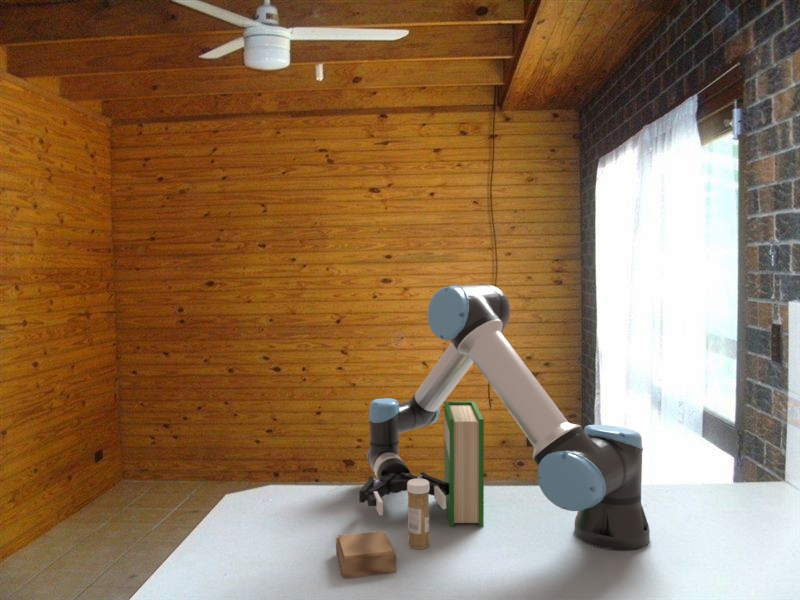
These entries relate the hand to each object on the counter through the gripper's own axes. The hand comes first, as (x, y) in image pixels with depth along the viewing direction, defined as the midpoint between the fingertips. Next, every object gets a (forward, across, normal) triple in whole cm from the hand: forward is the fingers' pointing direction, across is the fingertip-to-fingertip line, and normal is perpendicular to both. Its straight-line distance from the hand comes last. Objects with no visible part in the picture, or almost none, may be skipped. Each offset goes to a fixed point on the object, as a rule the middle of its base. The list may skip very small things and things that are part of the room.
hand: (413, 505), depth 133 cm
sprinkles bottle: (+3, 0, -8) cm, 8 cm away
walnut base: (+8, +12, -7) cm, 16 cm away
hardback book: (-12, -15, -8) cm, 21 cm away
